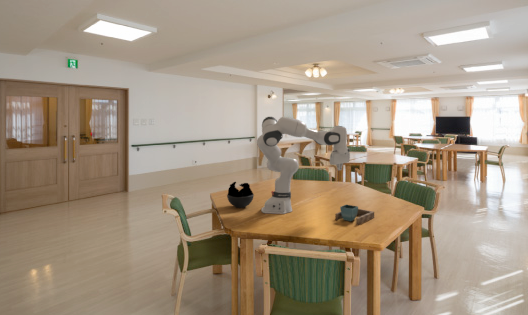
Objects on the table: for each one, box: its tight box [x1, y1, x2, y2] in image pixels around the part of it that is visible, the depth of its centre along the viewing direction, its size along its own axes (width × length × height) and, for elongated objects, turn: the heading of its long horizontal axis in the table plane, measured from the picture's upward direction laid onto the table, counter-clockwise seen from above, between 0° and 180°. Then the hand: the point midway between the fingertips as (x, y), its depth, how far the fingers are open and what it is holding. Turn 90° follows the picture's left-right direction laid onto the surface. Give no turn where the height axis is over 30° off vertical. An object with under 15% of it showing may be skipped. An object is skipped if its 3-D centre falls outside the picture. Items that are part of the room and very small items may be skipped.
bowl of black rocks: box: [226, 181, 255, 209], centre depth 245 cm, size 20×20×19 cm
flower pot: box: [340, 204, 359, 222], centre depth 213 cm, size 9×9×9 cm
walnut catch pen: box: [334, 208, 375, 226], centre depth 216 cm, size 22×16×4 cm
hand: (339, 170), depth 222 cm, fingers closed
